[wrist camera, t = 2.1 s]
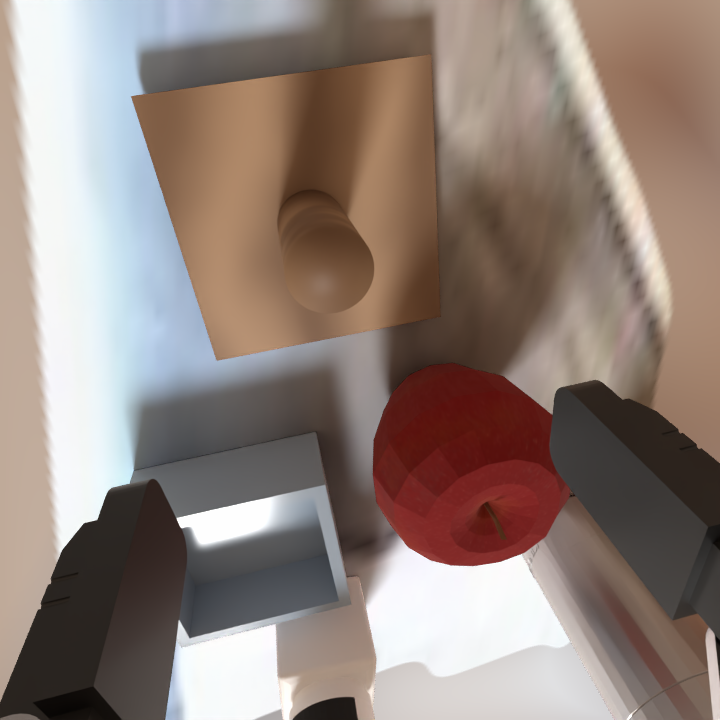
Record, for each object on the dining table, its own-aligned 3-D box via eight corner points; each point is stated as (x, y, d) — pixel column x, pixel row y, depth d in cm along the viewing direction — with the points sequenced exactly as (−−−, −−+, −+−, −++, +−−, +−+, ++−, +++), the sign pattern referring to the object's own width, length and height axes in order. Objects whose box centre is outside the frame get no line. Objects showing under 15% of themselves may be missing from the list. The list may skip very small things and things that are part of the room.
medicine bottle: (279, 636, 43) (287, 809, 33) (274, 586, 39) (280, 763, 29) (358, 623, 44) (388, 786, 34) (359, 573, 41) (394, 738, 30)
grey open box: (315, 431, 32) (325, 484, 28) (341, 546, 38) (351, 604, 34) (133, 470, 31) (114, 532, 27) (189, 583, 37) (181, 647, 33)
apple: (534, 386, 34) (650, 512, 24) (427, 481, 36) (491, 630, 27) (433, 295, 29) (527, 407, 19) (318, 413, 31) (346, 566, 22)
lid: (425, 55, 22) (499, 42, 15) (436, 311, 29) (490, 380, 22) (135, 95, 21) (77, 101, 14) (217, 353, 27) (205, 440, 21)
